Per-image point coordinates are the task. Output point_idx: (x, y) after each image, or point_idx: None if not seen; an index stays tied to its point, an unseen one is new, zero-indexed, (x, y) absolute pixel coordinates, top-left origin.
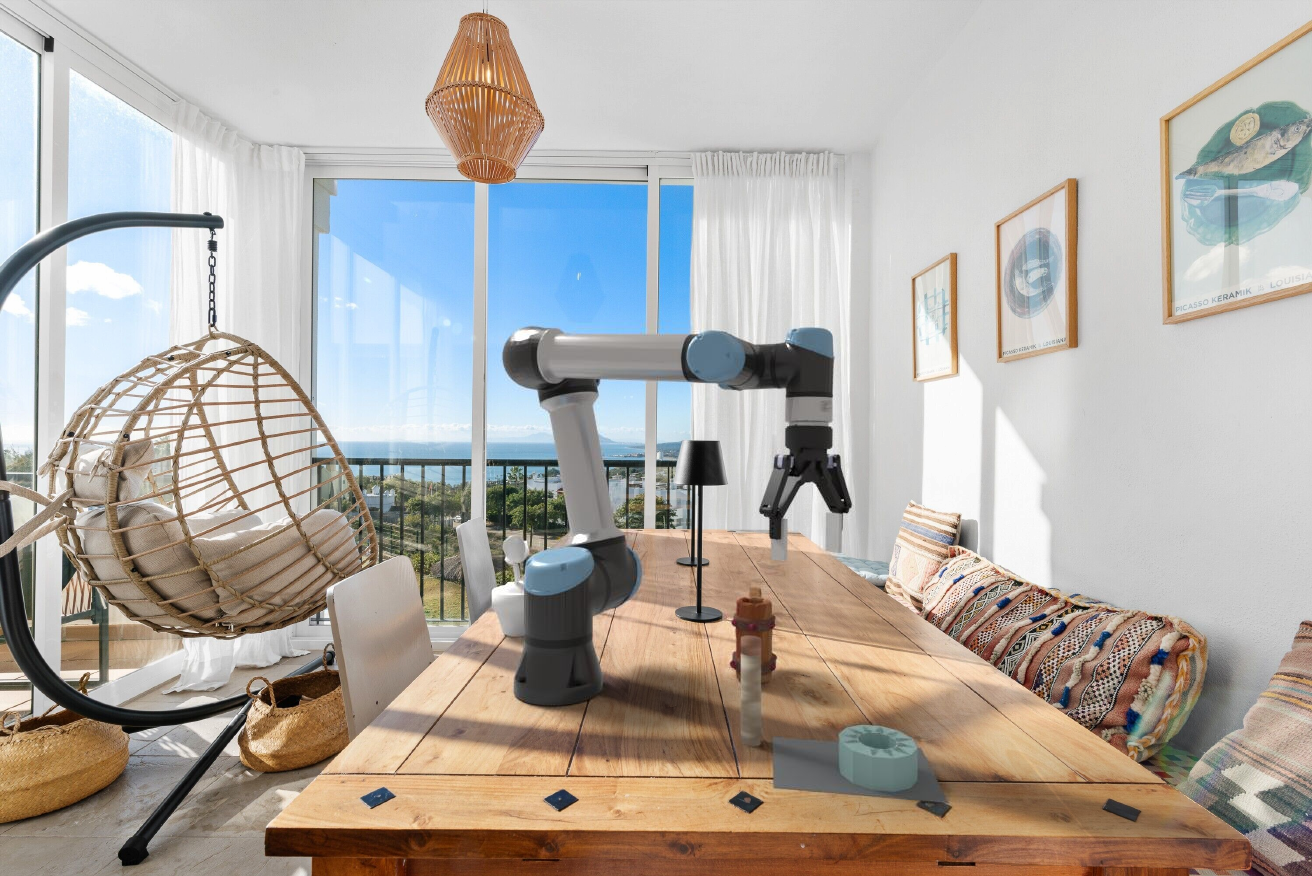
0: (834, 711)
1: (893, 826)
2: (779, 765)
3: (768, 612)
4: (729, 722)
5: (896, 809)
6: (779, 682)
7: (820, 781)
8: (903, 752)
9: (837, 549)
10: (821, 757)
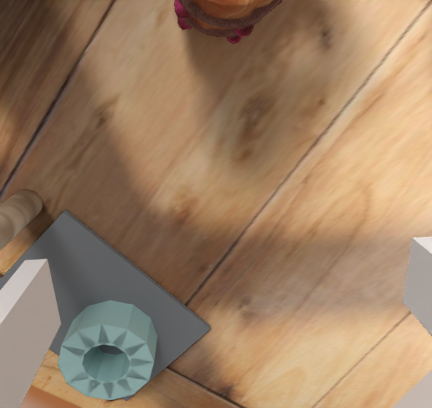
0: (225, 189)
1: (54, 389)
2: None
3: (242, 13)
4: (47, 122)
5: None
6: (253, 34)
7: None
8: (108, 393)
9: (411, 305)
10: (82, 284)
